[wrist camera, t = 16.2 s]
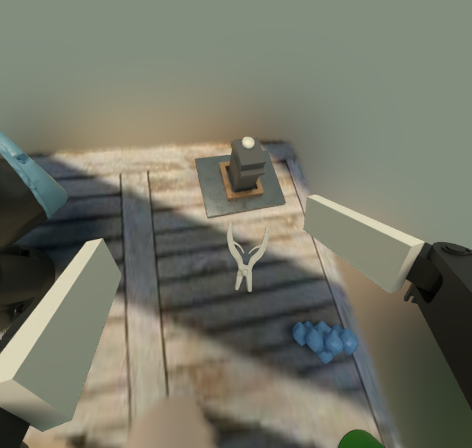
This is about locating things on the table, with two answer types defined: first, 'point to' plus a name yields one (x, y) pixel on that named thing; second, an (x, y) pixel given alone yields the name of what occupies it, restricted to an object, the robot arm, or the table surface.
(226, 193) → the plate
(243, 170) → the servo
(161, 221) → the table surface
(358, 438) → the green pencil holder
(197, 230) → the table surface
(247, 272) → the pliers
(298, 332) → the grapes
